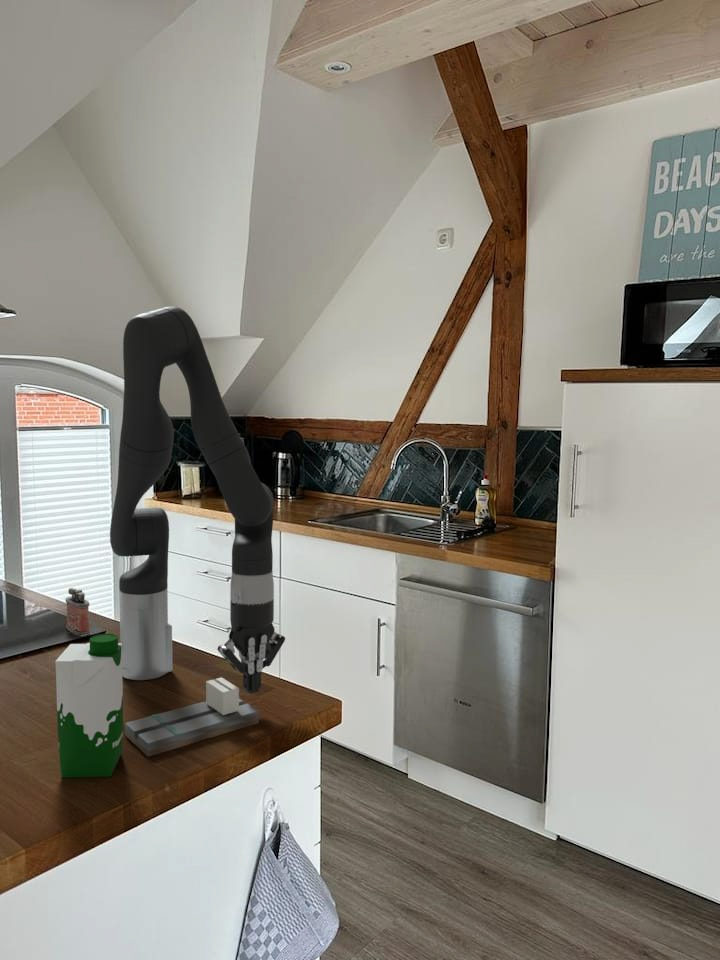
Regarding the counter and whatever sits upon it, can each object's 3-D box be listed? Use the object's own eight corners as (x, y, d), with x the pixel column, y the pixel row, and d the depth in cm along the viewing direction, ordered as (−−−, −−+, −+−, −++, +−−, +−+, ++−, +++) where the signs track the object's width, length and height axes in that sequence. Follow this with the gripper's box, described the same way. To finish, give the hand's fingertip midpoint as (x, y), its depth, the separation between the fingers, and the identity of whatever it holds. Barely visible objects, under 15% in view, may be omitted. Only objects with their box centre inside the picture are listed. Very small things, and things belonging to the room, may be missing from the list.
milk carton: (115, 779, 111) (113, 647, 108) (51, 781, 110) (47, 648, 108) (128, 751, 120) (126, 628, 117) (69, 752, 119) (66, 628, 116)
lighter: (93, 634, 175) (92, 592, 174) (79, 637, 173) (78, 594, 171) (76, 626, 180) (75, 585, 179) (63, 629, 178) (61, 587, 177)
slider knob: (221, 705, 134) (221, 676, 134) (238, 717, 130) (238, 687, 129) (206, 709, 132) (206, 680, 132) (223, 721, 128) (223, 691, 127)
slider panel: (232, 705, 137) (232, 693, 137) (258, 723, 130) (258, 710, 130) (125, 735, 125) (125, 722, 125) (148, 756, 118) (147, 742, 118)
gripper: (272, 586, 139) (272, 676, 141) (207, 597, 131) (208, 693, 133) (295, 595, 134) (294, 689, 136) (229, 607, 125) (229, 708, 127)
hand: (251, 691), depth 134 cm, fingers closed
